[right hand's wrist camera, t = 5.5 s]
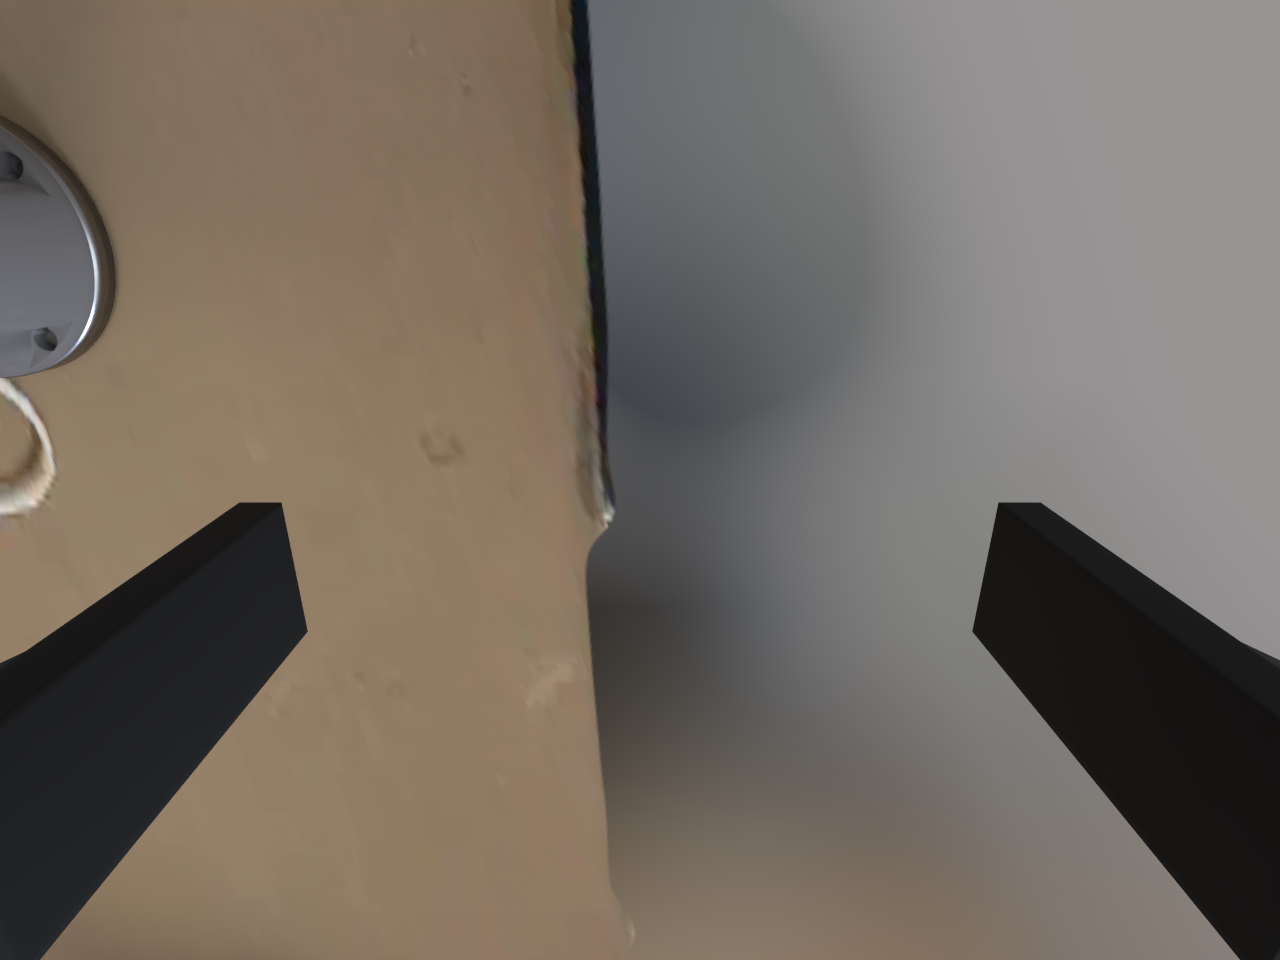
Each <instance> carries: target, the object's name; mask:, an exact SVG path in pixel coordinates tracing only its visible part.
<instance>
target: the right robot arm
mask: <svg viewBox="0 0 1280 960" xmlns="http://www.w3.org/2000/svg"><path fill="white" fill-rule="evenodd" d="M114 296H115V266H114V258H113V253H112V249H111V245H110V241H109V238H108V235H107V232H106V229H105V227H104V224H103V222H102V219H101V217H100V215H99V213H98V211H97V209H96V207H95V205H94V203H93V202H92V200H91V198H90V197H89V195H88V193H87V192H86V190H85V189H84V187H83V186H82V185H81V183H80V182H79V180H78V179H77V178H76V177H75V175H74V174H73V173H72V172H71V170H70V169H69V168H68V167H67V166H66V165H65V164H64V163H63V162H62V161H61V159H60V158H59V157H58V156H57V155H56V154H54V153H53V152H52V151H51V150H50V149H49V148H48V147H47V146H46V145H45V144H43V143H42V142H41V141H39V140H38V139H37V138H36V137H34V136H33V135H32V134H30V133H29V132H27V131H26V130H24V129H23V128H21V127H20V126H18V125H16V124H14V123H13V122H11V121H9V120H7V119H6V118H3V117H1V116H0V378H8V377H19V376H25V375H29V374H33V373H37V372H41V371H45V370H49V369H53V368H57V367H59V366H62V365H65V364H67V363H69V362H71V361H72V360H74V359H76V358H77V357H79V356H80V355H82V354H83V353H84V352H86V351H87V350H88V349H89V348H90V347H91V346H92V345H93V344H94V342H95V341H96V340H97V339H98V338H99V336H100V334H101V333H102V331H103V330H104V328H105V326H106V323H107V321H108V319H109V316H110V313H111V310H112V306H113V301H114ZM307 632H308V631H307V626H306V621H305V616H304V611H303V607H302V602H301V597H300V592H299V587H298V582H297V577H296V572H295V567H294V562H293V557H292V552H291V547H290V542H289V538H288V533H287V528H286V523H285V518H284V513H283V508H282V503H238V504H237V505H235V506H234V507H232V508H231V509H230V510H228V511H227V512H225V513H224V514H222V515H221V516H220V517H218V518H217V519H215V520H214V521H212V522H211V523H209V524H208V525H207V526H205V527H204V528H202V529H201V530H199V531H198V532H197V533H195V534H194V535H192V536H191V537H189V538H188V539H186V540H185V541H184V542H182V543H181V544H179V545H178V546H176V547H175V548H174V549H172V550H171V551H169V552H168V553H166V554H165V555H163V556H162V557H161V558H159V559H158V560H156V561H155V562H153V563H152V564H151V565H149V566H148V567H146V568H145V569H143V570H142V571H140V572H139V573H138V574H136V575H135V576H133V577H132V578H130V579H129V580H128V581H126V582H125V583H123V584H122V585H120V586H119V587H117V588H116V589H115V590H113V591H112V592H110V593H109V594H107V595H106V596H105V597H103V598H102V599H100V600H99V601H97V602H96V603H94V604H93V605H92V606H90V607H89V608H87V609H86V610H84V611H83V612H82V613H80V614H79V615H77V616H76V617H74V618H73V619H71V620H70V621H69V622H67V623H66V624H64V625H63V626H61V627H60V628H59V629H57V630H56V631H54V632H53V633H51V634H50V635H48V636H47V637H46V638H44V639H43V640H41V641H40V642H38V643H37V644H36V645H34V646H33V647H31V648H30V649H28V650H27V651H25V652H23V653H21V654H19V655H17V656H15V657H13V658H11V659H8V660H6V661H4V662H2V663H0V960H40V959H41V958H42V957H43V955H44V954H45V953H46V952H47V950H48V949H49V948H50V947H51V946H52V944H53V943H54V942H55V941H56V939H57V938H58V937H59V936H60V934H61V933H62V932H63V931H64V930H65V928H66V927H67V926H68V925H69V923H70V922H71V921H72V920H73V919H74V917H75V916H76V915H77V914H78V912H79V911H80V910H81V909H82V908H83V906H84V905H85V904H86V903H87V901H88V900H89V899H90V898H91V896H92V895H93V894H94V893H95V892H96V890H97V889H98V888H99V887H100V885H101V884H102V883H103V882H104V881H105V879H106V878H107V877H108V876H109V874H110V873H111V872H112V871H113V869H114V868H115V867H116V866H117V865H118V863H119V862H120V861H121V860H122V858H123V857H124V856H125V855H126V854H127V852H128V851H129V850H130V849H131V847H132V846H133V845H134V844H135V843H136V841H137V840H138V839H139V838H140V836H141V835H142V834H143V833H144V831H145V830H146V829H147V828H148V827H149V825H150V824H151V823H152V822H153V820H154V819H155V818H156V817H157V816H158V814H159V813H160V812H161V811H162V809H163V808H164V807H165V806H166V805H167V803H168V802H169V801H170V800H171V798H172V797H173V796H174V795H175V793H176V792H177V791H178V790H179V789H180V787H181V786H182V785H183V784H184V782H185V781H186V780H187V779H188V778H189V776H190V775H191V774H192V773H193V771H194V770H195V769H196V768H197V767H198V765H199V764H200V763H201V762H202V760H203V759H204V758H205V757H206V755H207V754H208V753H209V752H210V751H211V749H212V748H213V747H214V746H215V744H216V743H217V742H218V741H219V740H220V738H221V737H222V736H223V735H224V733H225V732H226V731H227V730H228V729H229V727H230V726H231V725H232V724H233V722H234V721H235V720H236V719H237V717H238V716H239V715H240V714H241V713H242V711H243V710H244V709H245V708H246V706H247V705H248V704H249V703H250V702H251V700H252V699H253V698H254V697H255V695H256V694H257V693H258V692H259V690H260V689H261V688H262V687H263V686H264V684H265V683H266V682H267V681H268V679H269V678H270V677H271V676H272V675H273V673H274V672H275V671H276V670H277V668H278V667H279V666H280V665H281V664H282V662H283V661H284V660H285V659H286V657H287V656H288V655H289V654H290V652H291V651H292V650H293V649H294V648H295V646H296V645H297V644H298V643H299V641H300V640H301V639H302V638H303V637H304V635H305V634H306V633H307ZM973 633H974V634H975V635H976V636H977V638H978V639H979V640H980V641H981V643H982V644H983V645H984V646H985V648H986V649H987V650H988V651H989V652H990V654H991V655H992V656H993V657H994V659H995V660H996V661H997V662H998V664H999V665H1000V666H1001V667H1002V668H1003V670H1004V671H1005V672H1006V673H1007V675H1008V676H1009V677H1010V678H1011V679H1012V681H1013V682H1014V683H1015V684H1016V686H1017V687H1018V688H1019V689H1020V690H1021V692H1022V693H1023V694H1024V695H1025V697H1026V698H1027V699H1028V700H1029V702H1030V703H1031V704H1032V705H1033V706H1034V708H1035V709H1036V710H1037V711H1038V713H1039V714H1040V715H1041V716H1042V717H1043V719H1044V720H1045V721H1046V722H1047V724H1048V725H1049V726H1050V727H1051V728H1052V730H1053V731H1054V732H1055V733H1056V735H1057V736H1058V737H1059V738H1060V740H1061V741H1062V742H1063V743H1064V744H1065V746H1066V747H1067V748H1068V749H1069V751H1070V752H1071V753H1072V754H1073V755H1074V757H1075V758H1076V759H1077V760H1078V762H1079V763H1080V764H1081V765H1082V766H1083V768H1084V769H1085V770H1086V771H1087V773H1088V774H1089V775H1090V776H1091V778H1092V779H1093V780H1094V781H1095V782H1096V784H1097V785H1098V786H1099V787H1100V789H1101V790H1102V791H1103V792H1104V793H1105V795H1106V796H1107V797H1108V798H1109V800H1110V801H1111V802H1112V803H1113V805H1114V806H1115V807H1116V808H1117V809H1118V811H1119V812H1120V813H1121V814H1122V816H1123V817H1124V818H1125V819H1126V820H1127V822H1128V823H1129V824H1130V825H1131V827H1132V828H1133V829H1134V830H1135V831H1136V833H1137V834H1138V835H1139V836H1140V838H1141V839H1142V840H1143V841H1144V842H1145V844H1146V845H1147V846H1148V847H1149V849H1150V850H1151V851H1152V852H1153V854H1154V855H1155V856H1156V857H1157V858H1158V860H1159V861H1160V862H1161V863H1162V865H1163V866H1164V867H1165V868H1166V869H1167V871H1168V872H1169V873H1170V874H1171V876H1172V877H1173V878H1174V879H1175V880H1176V882H1177V883H1178V884H1179V885H1180V887H1181V888H1182V889H1183V890H1184V891H1185V893H1186V894H1187V895H1188V896H1189V898H1190V899H1191V900H1192V901H1193V903H1194V904H1195V905H1196V906H1197V908H1198V909H1199V910H1200V911H1201V912H1202V914H1203V915H1204V916H1205V917H1206V919H1207V920H1208V921H1209V922H1210V923H1211V925H1212V926H1213V927H1214V928H1215V930H1216V931H1217V932H1218V933H1219V934H1220V936H1221V937H1222V938H1223V939H1224V941H1225V942H1226V943H1227V944H1228V945H1229V947H1230V948H1231V949H1232V950H1233V952H1234V953H1235V954H1236V955H1237V956H1238V958H1239V959H1240V960H1280V660H1278V659H1276V658H1274V657H1272V656H1270V655H1267V654H1265V653H1263V652H1261V651H1259V650H1257V649H1255V648H1252V647H1250V646H1248V645H1246V644H1244V643H1242V642H1240V641H1239V640H1237V639H1236V638H1234V637H1233V636H1232V635H1230V634H1229V633H1227V632H1226V631H1224V630H1223V629H1221V628H1220V627H1219V626H1217V625H1216V624H1214V623H1213V622H1211V621H1210V620H1208V619H1207V618H1206V617H1204V616H1203V615H1201V614H1200V613H1198V612H1197V611H1196V610H1194V609H1193V608H1191V607H1190V606H1188V605H1187V604H1186V603H1184V602H1183V601H1181V600H1180V599H1178V598H1177V597H1175V596H1174V595H1173V594H1171V593H1170V592H1168V591H1167V590H1165V589H1164V588H1163V587H1161V586H1160V585H1158V584H1157V583H1155V582H1154V581H1152V580H1151V579H1150V578H1148V577H1147V576H1145V575H1144V574H1142V573H1141V572H1139V571H1138V570H1137V569H1135V568H1134V567H1132V566H1131V565H1129V564H1128V563H1127V562H1125V561H1124V560H1122V559H1121V558H1119V557H1118V556H1116V555H1115V554H1114V553H1112V552H1111V551H1109V550H1108V549H1106V548H1105V547H1104V546H1102V545H1101V544H1099V543H1098V542H1096V541H1095V540H1094V539H1092V538H1091V537H1089V536H1088V535H1086V534H1085V533H1083V532H1082V531H1081V530H1079V529H1078V528H1076V527H1075V526H1073V525H1072V524H1071V523H1069V522H1068V521H1066V520H1065V519H1063V518H1062V517H1060V516H1059V515H1058V514H1056V513H1055V512H1053V511H1052V510H1050V509H1049V508H1047V507H1046V506H1045V505H1043V504H1042V503H998V508H997V513H996V518H995V523H994V528H993V533H992V538H991V542H990V548H989V552H988V557H987V562H986V567H985V572H984V577H983V582H982V587H981V592H980V597H979V602H978V607H977V611H976V617H975V621H974V626H973Z"/></svg>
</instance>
